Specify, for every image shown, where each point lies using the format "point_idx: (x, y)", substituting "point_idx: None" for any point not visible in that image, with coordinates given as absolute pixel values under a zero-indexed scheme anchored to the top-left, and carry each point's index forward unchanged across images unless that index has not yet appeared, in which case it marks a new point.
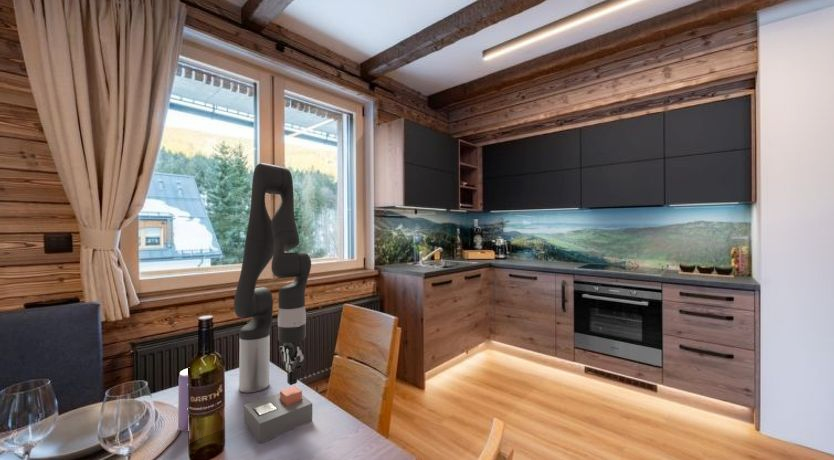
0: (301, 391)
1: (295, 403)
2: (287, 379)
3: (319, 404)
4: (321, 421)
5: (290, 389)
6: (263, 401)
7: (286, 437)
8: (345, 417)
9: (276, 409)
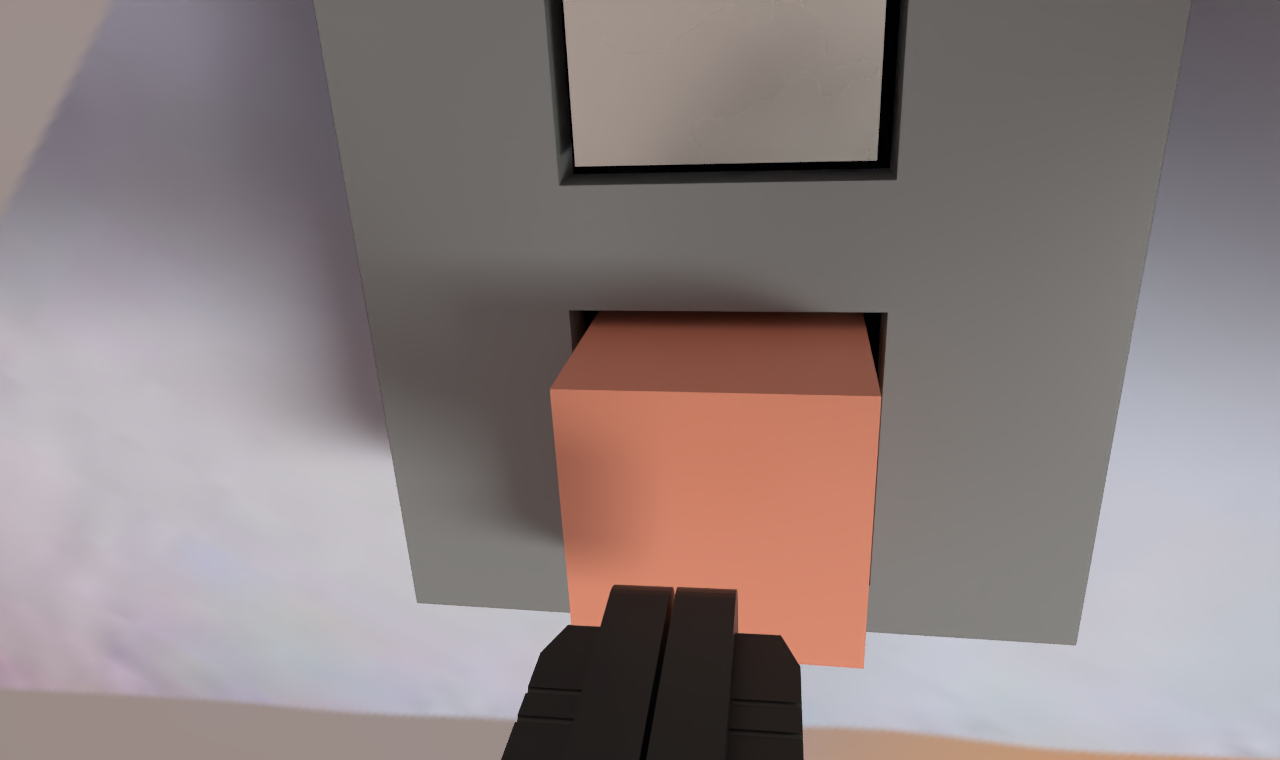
0: None
1: None
2: (723, 643)
3: None
4: None
5: (774, 551)
6: (1046, 67)
7: None
8: (364, 703)
9: (578, 157)
